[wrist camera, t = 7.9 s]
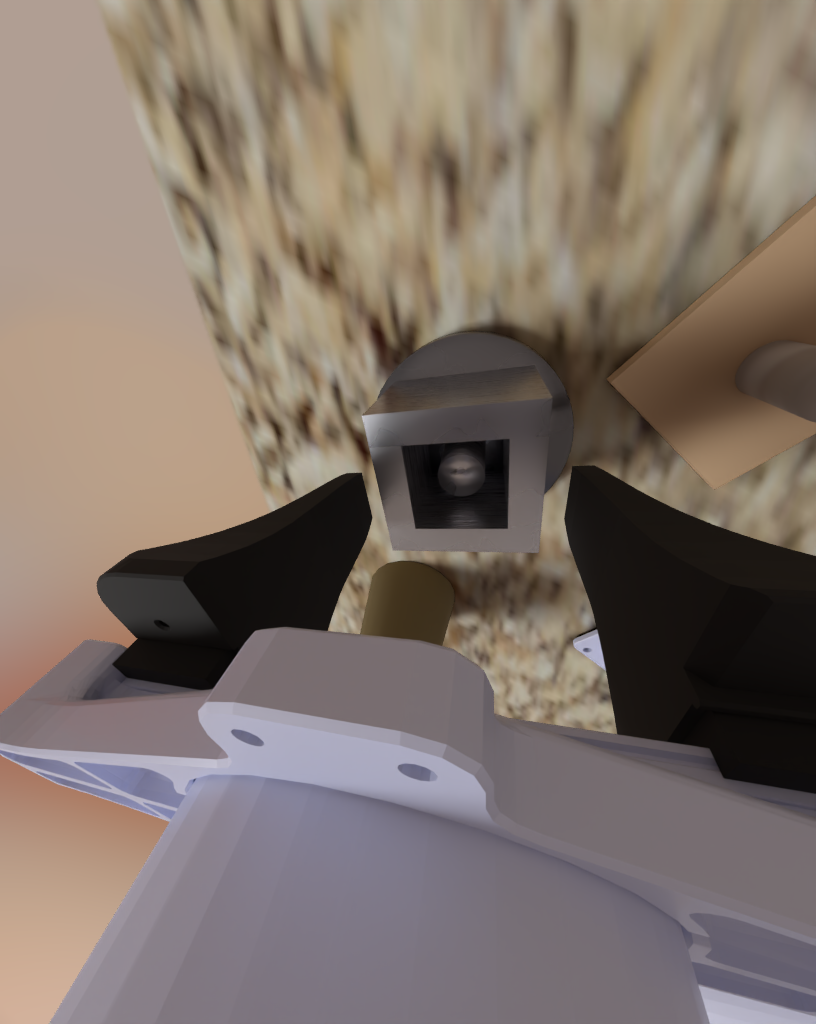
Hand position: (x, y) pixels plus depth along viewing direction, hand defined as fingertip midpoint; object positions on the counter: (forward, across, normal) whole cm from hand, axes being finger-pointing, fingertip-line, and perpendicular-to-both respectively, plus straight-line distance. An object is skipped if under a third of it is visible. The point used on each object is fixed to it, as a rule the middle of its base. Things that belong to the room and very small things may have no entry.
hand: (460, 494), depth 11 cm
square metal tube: (+4, 0, 0) cm, 4 cm away
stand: (+5, -10, -2) cm, 12 cm away
